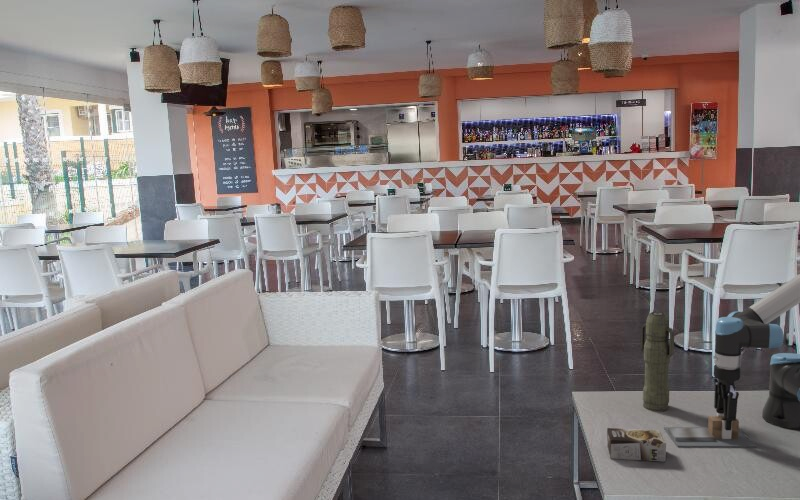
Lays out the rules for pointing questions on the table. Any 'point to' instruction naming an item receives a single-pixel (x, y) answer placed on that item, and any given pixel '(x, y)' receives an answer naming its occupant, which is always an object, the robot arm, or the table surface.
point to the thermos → (656, 360)
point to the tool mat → (715, 441)
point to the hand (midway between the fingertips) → (723, 435)
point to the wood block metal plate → (704, 431)
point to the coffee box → (636, 444)
